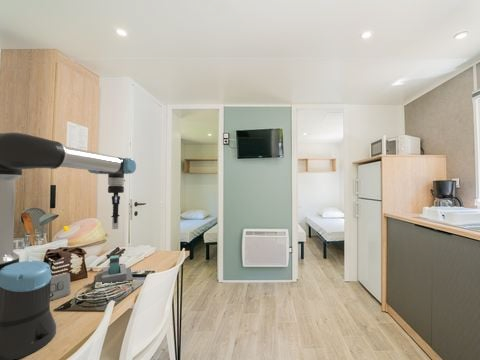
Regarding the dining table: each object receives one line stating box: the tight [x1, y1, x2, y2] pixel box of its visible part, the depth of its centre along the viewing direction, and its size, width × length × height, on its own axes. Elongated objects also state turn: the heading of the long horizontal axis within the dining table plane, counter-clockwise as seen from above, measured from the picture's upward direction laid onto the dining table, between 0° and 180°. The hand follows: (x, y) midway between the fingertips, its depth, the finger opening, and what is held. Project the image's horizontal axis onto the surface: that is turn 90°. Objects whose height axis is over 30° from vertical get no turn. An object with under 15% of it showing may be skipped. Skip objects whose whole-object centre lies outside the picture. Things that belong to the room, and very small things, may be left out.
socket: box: [94, 263, 134, 284], centre depth 111 cm, size 18×16×4 cm
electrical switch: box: [50, 272, 72, 302], centre depth 93 cm, size 9×5×9 cm, turn 141°
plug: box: [109, 255, 120, 275], centre depth 111 cm, size 4×4×10 cm
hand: (115, 228), depth 117 cm, fingers closed
